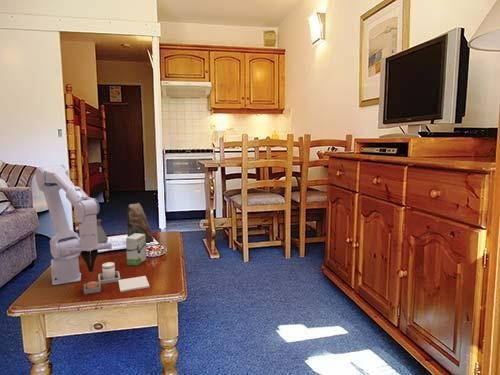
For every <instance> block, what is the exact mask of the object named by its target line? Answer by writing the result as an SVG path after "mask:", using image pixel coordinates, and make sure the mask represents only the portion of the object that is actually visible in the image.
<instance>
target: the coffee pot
mask: <svg viewBox="0 0 500 375" xmlns="http://www.w3.org/2000/svg"><path fill="white" fill-rule="evenodd" d="M96 219H97V235H98V243H108V240H109V239H108V238H109V237H108V236H107V234H106V232H105V231H104V228H103V226H102V225H101V222H102V219H99V218H96Z"/></svg>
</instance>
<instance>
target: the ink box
mask: <svg viewBox="0 0 500 375" xmlns="http://www.w3.org/2000/svg"><path fill="white" fill-rule="evenodd" d="M125 244H126V246H125V247H126V265H127V266H140V264H141V263H143V262H144V261H146V260H147V249H146V248H147V245H146V241H145V234H139V233H135V234H133V235H131V236H129V237H128V236H127V237H125Z"/></svg>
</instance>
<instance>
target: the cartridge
mask: <svg viewBox="0 0 500 375" xmlns="http://www.w3.org/2000/svg"><path fill="white" fill-rule="evenodd" d="M101 269H102V274H103V277H102V280H107V279H114V278H116V275H115V272H116V264H115V262H113V261H108V262H104V263H102V265H101Z"/></svg>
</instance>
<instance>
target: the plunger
mask: <svg viewBox="0 0 500 375" xmlns="http://www.w3.org/2000/svg"><path fill="white" fill-rule="evenodd" d="M98 282H99V281H95V280H93V281H88V282H87V283H86V284H87V289H89V288H95V287H98Z"/></svg>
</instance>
